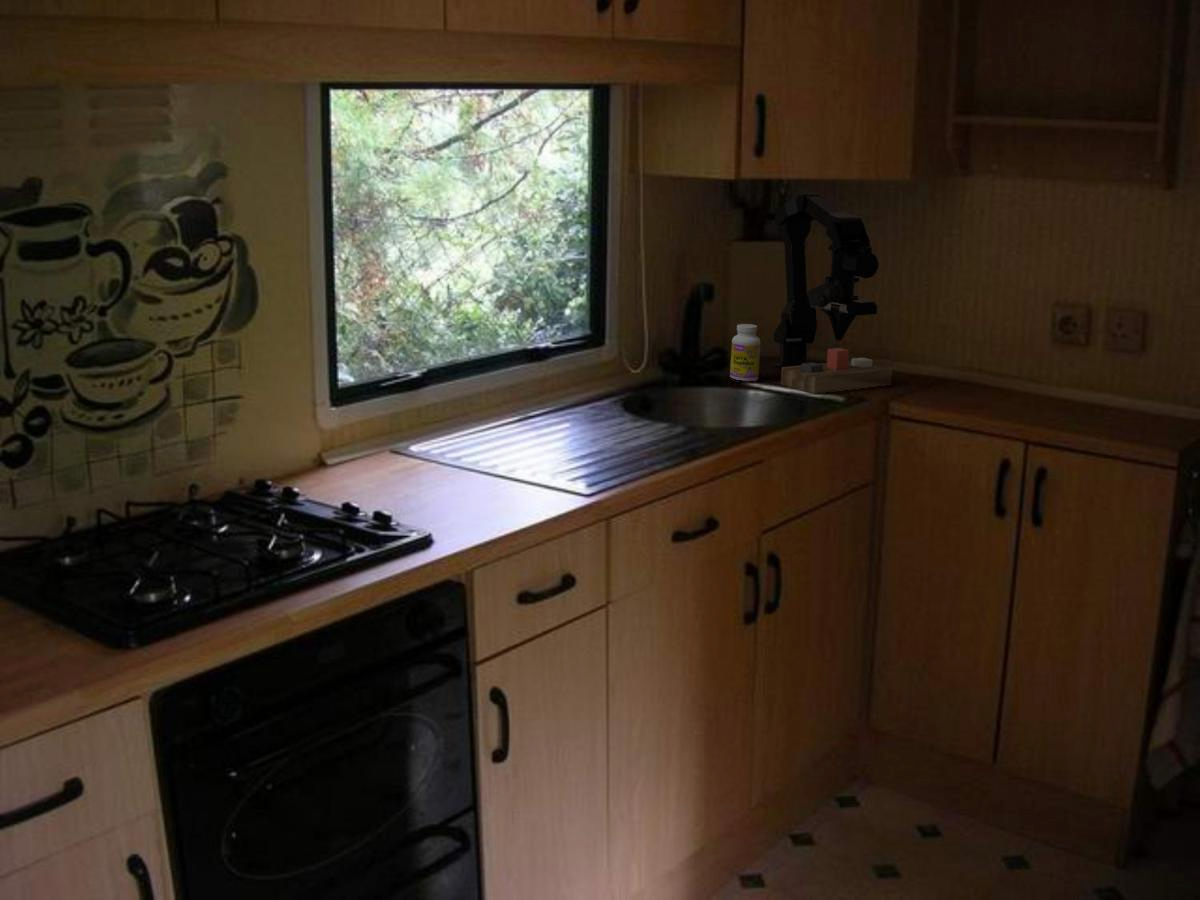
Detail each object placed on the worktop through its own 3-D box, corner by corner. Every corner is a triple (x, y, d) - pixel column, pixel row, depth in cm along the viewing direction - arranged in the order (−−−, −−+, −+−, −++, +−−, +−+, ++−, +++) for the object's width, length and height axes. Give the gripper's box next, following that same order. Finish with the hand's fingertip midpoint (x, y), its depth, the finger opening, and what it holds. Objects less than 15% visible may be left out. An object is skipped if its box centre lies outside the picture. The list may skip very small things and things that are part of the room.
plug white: (850, 379, 321) (851, 358, 319) (861, 378, 322) (862, 357, 321) (860, 382, 318) (861, 361, 316) (871, 381, 319) (872, 360, 318)
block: (780, 384, 315) (781, 367, 314) (856, 376, 327) (857, 359, 326) (814, 394, 306) (815, 376, 305) (891, 385, 317) (892, 368, 316)
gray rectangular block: (800, 385, 313) (801, 363, 312) (811, 383, 315) (813, 362, 313) (809, 387, 310) (811, 366, 309) (821, 386, 312) (822, 364, 311)
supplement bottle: (727, 381, 318) (729, 326, 314) (732, 376, 324) (735, 322, 321) (755, 383, 316) (758, 328, 313) (760, 378, 322) (763, 324, 319)
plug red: (826, 370, 316) (827, 348, 315) (837, 369, 318) (839, 347, 316) (836, 372, 313) (837, 351, 312) (847, 371, 315) (848, 350, 314)
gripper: (789, 269, 313) (785, 336, 317) (843, 279, 298) (838, 349, 302) (826, 267, 319) (822, 333, 323) (881, 277, 304) (876, 346, 308)
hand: (838, 340), depth 314 cm, fingers closed
